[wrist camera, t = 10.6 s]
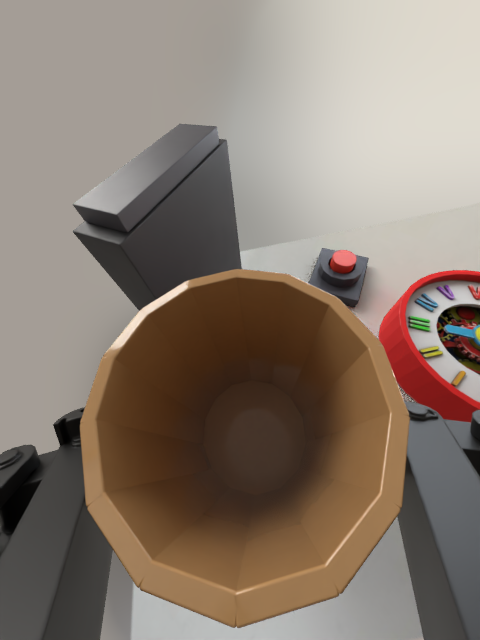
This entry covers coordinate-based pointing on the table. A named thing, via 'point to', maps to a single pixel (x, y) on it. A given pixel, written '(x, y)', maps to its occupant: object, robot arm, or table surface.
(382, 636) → the table surface
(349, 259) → the button
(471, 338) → the toy clock
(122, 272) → the coffee maker
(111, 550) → the robot arm
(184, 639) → the table surface
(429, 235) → the table surface
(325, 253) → the switch block
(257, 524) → the cup
